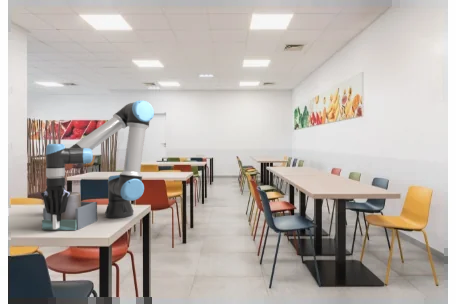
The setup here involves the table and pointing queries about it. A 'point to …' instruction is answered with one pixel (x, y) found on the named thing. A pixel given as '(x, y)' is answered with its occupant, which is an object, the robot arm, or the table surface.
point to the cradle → (80, 214)
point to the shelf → (63, 225)
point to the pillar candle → (71, 206)
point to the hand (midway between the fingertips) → (56, 228)
